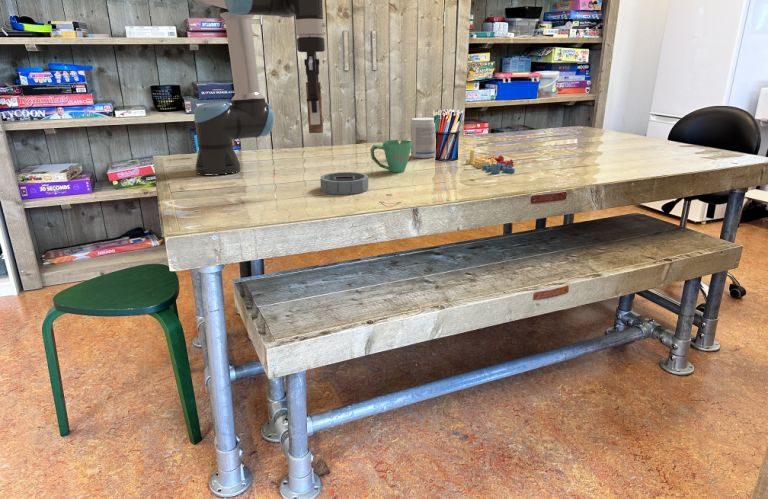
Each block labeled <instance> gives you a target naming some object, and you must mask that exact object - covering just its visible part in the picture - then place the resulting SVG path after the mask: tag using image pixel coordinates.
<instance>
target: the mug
mask: <svg viewBox="0 0 768 499" xmlns="http://www.w3.org/2000/svg"><path fill="white" fill-rule="evenodd" d="M411 145H412V142H411V140H406V139H405V140H404V139H401V140H400V142H399V140H398V139H389V140H384V141H382V145H381V144H373V145H372V146H371V148H370V157H371V160H373V162H374V163H376V165H377V166H379V167H380V168H382V169H384V170H388V171H390V173H403V172H405V171H406V168H407V164H408V162H409V159H410V155H411ZM377 149H378V150H383V151H384V155H385V160H386V162H387V165H385V164H382V163H381V162H380V161H379V160H378V159H377V158H376V156H375V151H376V150H377Z"/></svg>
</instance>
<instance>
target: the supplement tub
mask: <svg viewBox="0 0 768 499" xmlns="http://www.w3.org/2000/svg"><path fill="white" fill-rule="evenodd" d="M434 118H435V117H414V118H413V117H412V118H411V119H410V141H411V142H412V145H411V150H410V155H411V157H412V158H415V159H430V158H434V157H435V156H436V122H435V123H434Z"/></svg>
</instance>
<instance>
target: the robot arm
mask: <svg viewBox="0 0 768 499" xmlns="http://www.w3.org/2000/svg"><path fill="white" fill-rule="evenodd" d="M190 1H191V2H193V4H195V5H196V6H198V7H199V6H200V7H203V8H206V9H207V8H208V9H217V10H218V12H219V16H220V17H221V19H223V20H224V21H225V22H224V23H225V29H226V36H227V44H228V51H229V58H230V59H229V60H230V67H231V75H232V81H233V82H232V83H233V90H234V95H233V97H232V98H231V100H230V102H231V104H230V103H229V101H227V100H221V101H220V100H219V101H213V102H207V103H202V104H200V105H197V106H196V107H195V108H194V109H193V114H194V116H193V117H194V120H193V122H194V125H195V132H196V140H197V148H198V149H197V150H198V152H197V157H196V162H195V166H194V167H195V173H196V172H197V173H200V174H225V173H232V172H236V171H239V170H240V169H241V162H240V160H239V158H238V155H237V154H236V151H235V149H234V142H233V140H241V139H251V138H261V137H265V136H267V135H269V134H270V132H271V130H272V129H273V126H274V111H273V108H272V105H271V104H270V103H268V102H266V97H265V96H264V95H263V94H262V93H261V91H260V83H259V75H258V74H259V73H258V68H257V67H258V66H257V59H256V58H257V57H256V49H255V42H254V40H255V39H254V33H253V26H252V19H253V18H254V17H255V16H270V17H271V16H273V17H277V16H278V17H280V18H293V17H294V18H295V20H294V21H295V33H296V36H298V38H297V39H296V45H297V46H296V47H297V52H299V53H306V59H305V58H304V60H303V62H304V66H305V75H306V81H307V82H308V98H309V99H307V98H306V102H307V101H309V107H310V122H311V125H317V124H320V111H319V101H318V100H319V98H318V87H317V82H320V81H319V80H320V79H319V75H320V59H319V58H317V53H323V52H325V50H326V48H325V47H326V46H325V38H324V37H323V35H325V33H324V31H325V30H324V28H326V26H327V25H326V23H324V10H323V9H324V8H323V0H190ZM321 100H323V99H322V96H321ZM241 170H242V169H241ZM239 172H240V171H239ZM197 173H196V174H197ZM236 173H237V172H236ZM232 174H233V173H232Z"/></svg>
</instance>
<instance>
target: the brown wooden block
mask: <svg viewBox="0 0 768 499" xmlns="http://www.w3.org/2000/svg"><path fill="white" fill-rule="evenodd" d="M317 87H318V98H319V100H318V101H319V111H320V124H317V125H311V122H310V107H309V101H307V99H309V98H308V82H305V91H306V106H307V108H306V109H307V119H308V124H307V125H308V134H324V120H323V103H322V100H323V99H322V100H321V97H322V82H321V81H319V82H317Z"/></svg>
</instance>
